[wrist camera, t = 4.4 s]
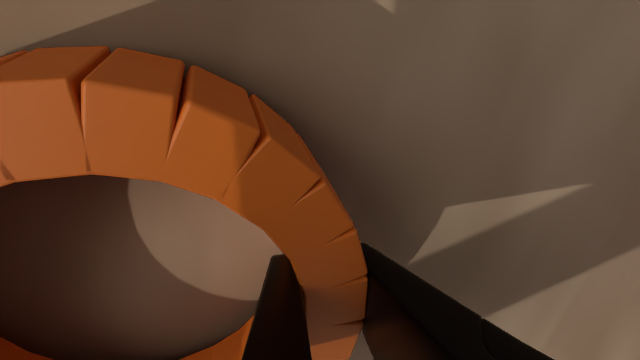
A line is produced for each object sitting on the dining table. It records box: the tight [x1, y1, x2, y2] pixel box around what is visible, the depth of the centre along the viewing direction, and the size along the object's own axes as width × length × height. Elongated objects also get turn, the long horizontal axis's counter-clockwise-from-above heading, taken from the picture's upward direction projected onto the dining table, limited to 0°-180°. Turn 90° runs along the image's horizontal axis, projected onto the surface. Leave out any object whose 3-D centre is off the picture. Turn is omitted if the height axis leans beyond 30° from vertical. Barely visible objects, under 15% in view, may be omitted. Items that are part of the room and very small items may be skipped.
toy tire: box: [0, 46, 368, 360], centre depth 8 cm, size 10×10×2 cm
